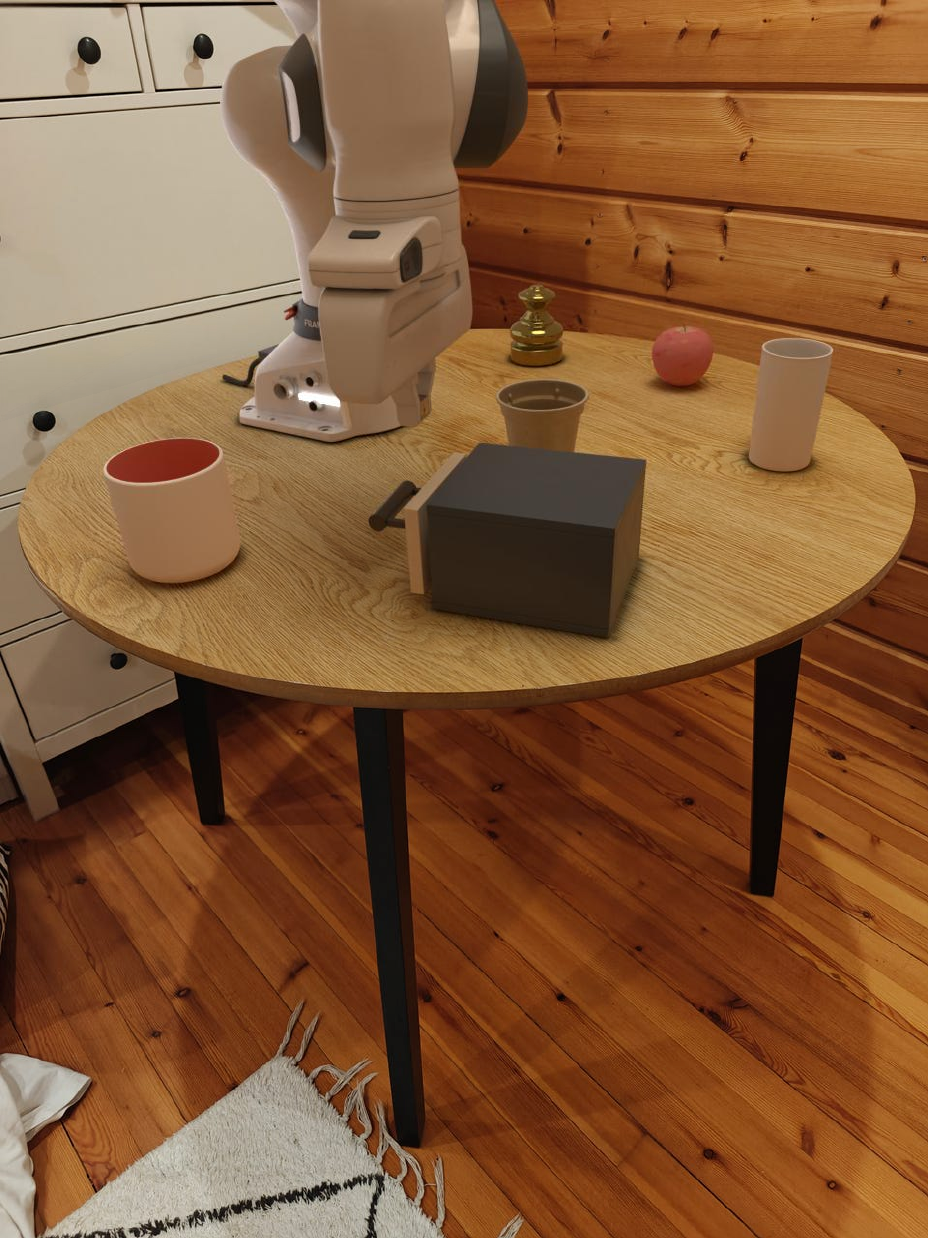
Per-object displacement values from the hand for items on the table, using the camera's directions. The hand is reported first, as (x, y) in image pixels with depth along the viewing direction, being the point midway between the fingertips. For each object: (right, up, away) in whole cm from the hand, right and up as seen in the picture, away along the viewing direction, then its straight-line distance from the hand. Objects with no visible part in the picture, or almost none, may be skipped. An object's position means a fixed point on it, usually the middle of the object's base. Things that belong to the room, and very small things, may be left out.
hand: (415, 420), depth 72 cm
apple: (+32, +14, +45) cm, 57 cm away
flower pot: (+12, -1, +24) cm, 27 cm away
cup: (-21, -11, +10) cm, 26 cm away
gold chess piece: (+14, +21, +56) cm, 61 cm away
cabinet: (+10, -13, +5) cm, 17 cm away
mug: (+37, +2, +25) cm, 45 cm away
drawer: (+6, -11, +6) cm, 14 cm away
